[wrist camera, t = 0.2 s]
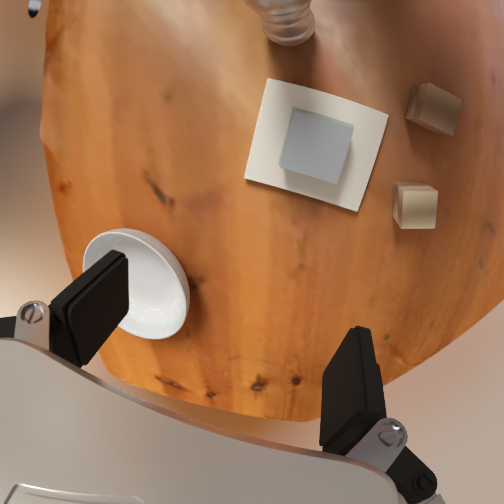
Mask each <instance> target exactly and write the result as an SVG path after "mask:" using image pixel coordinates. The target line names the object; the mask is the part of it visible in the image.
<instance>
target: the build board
mask: <svg viewBox="0 0 504 504" xmlns="http://www.w3.org/2000/svg"><path fill="white" fill-rule="evenodd" d="M294 111H298V112H302V113H305V114H309V115H312V116H316V117H319V118H322V119H326V120H329V121H332V122H335V123H338V124H341V125H344V126H347V127H350V128H353V129H354V131H353V134H352V137H351V141H350V144H349V148H348V151H347V154H346V158H345V161H344V164H343V167H342V170H341V174H340V177H339V180H338V183H337V184H333V183H330V182H327V181H324V180H321V179H318V178H314V177H311V176H308V175H304V174H301V173H298V172H294V171H291V170H287V169H284V168H280V164H281V160H282V156H283V153H284V149H285V145H286V141H287V137H288V134H289V130H290V126H291V122H292V118H293V114H294ZM388 116H389V115H388V114H385V113H383V112H380V111H378V110H375V109H373V108H370V107H367V106H364V105H362V104H359V103H356V102H353V101H350V100H347V99H344V98H341V97H338V96H335V95H332V94H328V93H325V92H322V91H318V90H315V89H311V88H307V87H304V86H300V85H296V84H292V83H288V82H283V81H279V80H274V79H270V78H268V79H267V83H266V87H265V91H264V95H263V99H262V103H261V107H260V111H259V116H258V120H257V124H256V128H255V132H254V137H253V141H252V145H251V149H250V154H249V158H248V162H247V167H246V171H245V175H244V178H246V179H249V180H253V181H257V182H261V183H264V184H268V185H271V186H275V187H279V188H282V189H286V190H289V191H292V192H296V193H299V194H303V195H306V196H309V197H313V198H316V199H319V200H322V201H325V202H329V203H332V204H335V205H338V206H341V207H344V208H347V209H350V210H353V211H356V212H357V211H358V209H359V206H360V203H361V200H362V198H363V195H364V192H365V189H366V186H367V183H368V180H369V177H370V174H371V171H372V168H373V165H374V162H375V159H376V156H377V153H378V150H379V146H380V143H381V140H382V137H383V133H384V130H385V126H386V123H387V119H388Z"/></svg>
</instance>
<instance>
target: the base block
mask: <svg viewBox="0 0 504 504" xmlns="http://www.w3.org/2000/svg"><path fill="white" fill-rule="evenodd" d="M353 131H354V129H353V128H350V127H347V126H344V125H341V124H338V123H335V122H332V121H329V120H326V119H322V118H319V117H316V116H312V115H309V114H305V113H302V112H298V111H294V114H293V118H292V122H291V126H290V130H289V134H288V137H287V141H286V145H285V149H284V153H283V156H282V160H281V164H280V168H284V169H287V170H291V171H294V172H298V173H301V174H304V175H308V176H311V177H314V178H318V179H321V180H324V181H327V182H330V183H333V184H337V183H338V180H339V177H340V174H341V170H342V167H343V164H344V161H345V158H346V154H347V151H348V148H349V144H350V141H351V137H352V134H353Z"/></svg>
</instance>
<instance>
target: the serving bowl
mask: <svg viewBox="0 0 504 504" xmlns="http://www.w3.org/2000/svg"><path fill="white" fill-rule="evenodd" d="M111 250H116V251H119V252H122V253H124V254H125V255H126V258H128V271H129V311H128V313H127V315H126V316H125V317H124V319H123V320H122V321H121V322H120V323H119V325H118V326H119V327H120V328H122V329H123V330H125V331H127V332H129V333H131V334H133V335H136V336H138V337H142V338H146V339H163V338H167V337H170V336H172V335H174V334H175V333H176V332H178V331H179V330H180V328H181V327H182V326H183V324H184V322H185V319H186V316H187V313H188V309H189V304H190V291H189V285H188V281H187V277H186V275H185V272H184V270H183V268H182V266H181V264H180V263H179V261H178V260H177V258H176V257H175V255H174V254H173V253H172V252H171V251H170V250H169V249H168V248H167V247H166V246H165V245H164V244H163V243H162V242H160V241H159V240H157V239H156V238H154V237H153V236H151V235H149V234H147V233H144V232H142V231H139V230H135V229H128V228H120V229H113V230H110V231H107V232H104V233H101V234H99V235H98V236H96V237H95V238H94V239H93V240H92V241H91V242H90V243H89V244H88V246H87V248H86V250H85V254H84V258H83V273H84V272H85V271H86V270H87V269H88V268H90V267H91V266H92V265H93V264H95V263H96V262H97V261H98V260H99V259H101V258H102V257H103V256H104V255H106V254H107V253H108V252H109V251H111Z"/></svg>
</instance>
